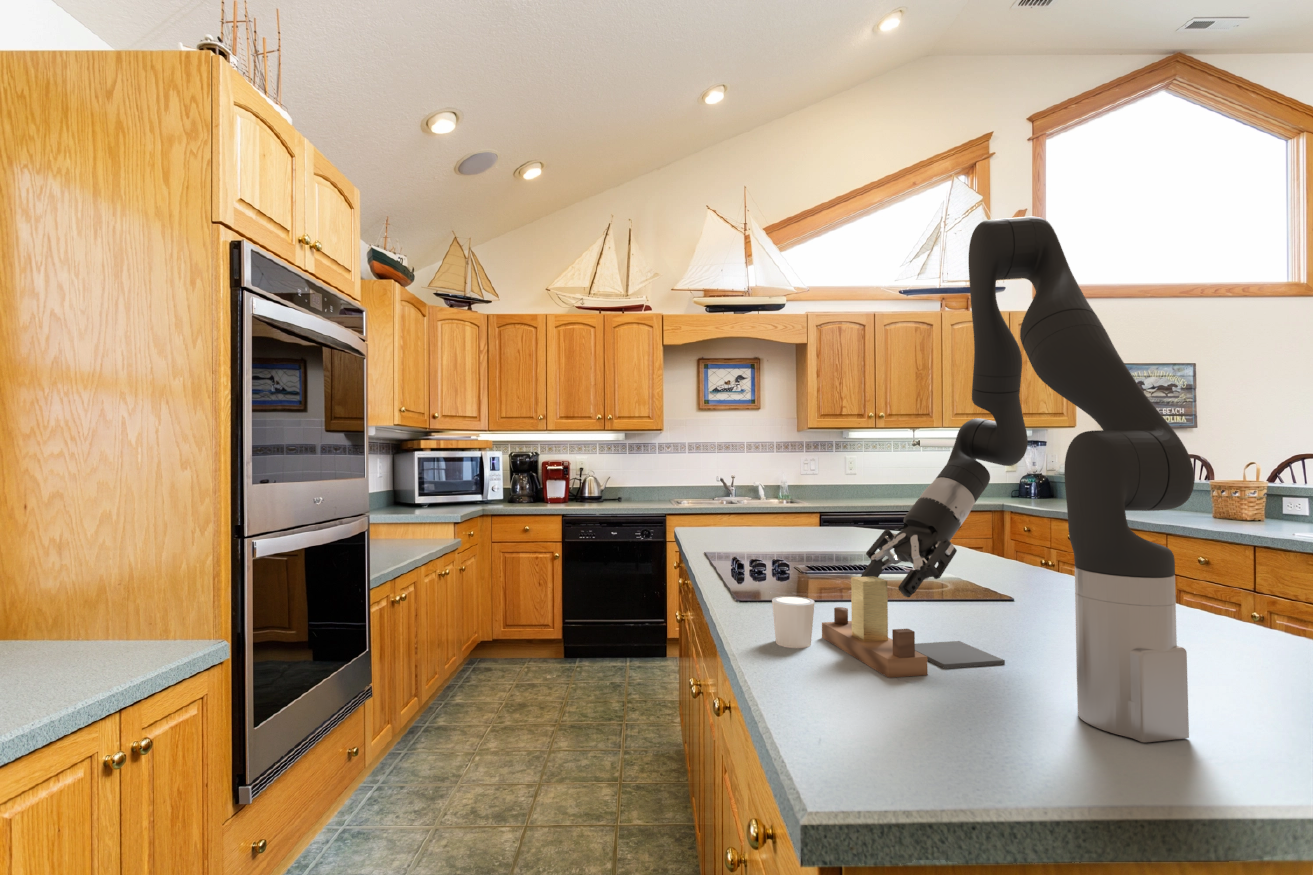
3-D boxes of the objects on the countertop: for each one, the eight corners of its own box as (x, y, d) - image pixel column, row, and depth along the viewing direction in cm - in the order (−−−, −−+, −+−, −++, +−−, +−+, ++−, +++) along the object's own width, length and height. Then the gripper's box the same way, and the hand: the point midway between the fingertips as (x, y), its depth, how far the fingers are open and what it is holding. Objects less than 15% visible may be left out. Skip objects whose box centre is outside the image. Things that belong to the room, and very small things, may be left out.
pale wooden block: (887, 640, 96) (887, 580, 96) (863, 641, 95) (863, 581, 95) (875, 634, 99) (874, 576, 99) (851, 635, 98) (851, 577, 99)
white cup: (819, 649, 99) (819, 604, 100) (775, 649, 100) (775, 604, 100) (809, 637, 106) (809, 595, 106) (768, 636, 106) (768, 595, 107)
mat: (1004, 664, 92) (1004, 660, 92) (943, 668, 90) (943, 664, 90) (959, 644, 102) (959, 640, 102) (903, 648, 100) (903, 644, 100)
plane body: (927, 674, 88) (927, 631, 88) (888, 677, 86) (887, 633, 87) (854, 635, 107) (854, 599, 108) (821, 637, 106) (821, 601, 106)
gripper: (895, 493, 109) (840, 564, 104) (962, 498, 95) (902, 580, 91) (919, 523, 110) (866, 594, 106) (988, 532, 97) (931, 614, 93)
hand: (883, 587), depth 98 cm, fingers open, 8 cm apart
